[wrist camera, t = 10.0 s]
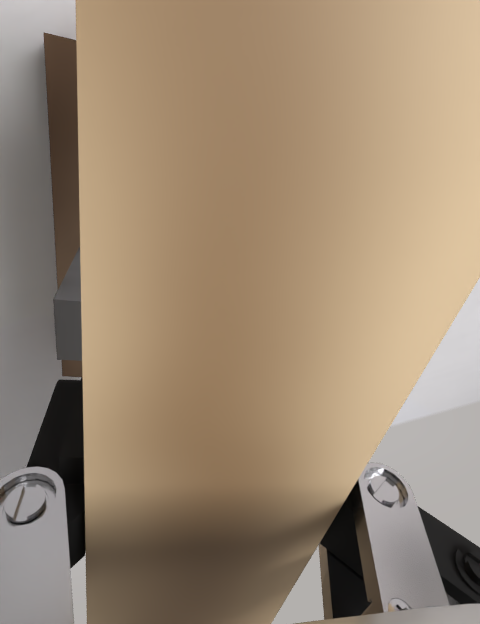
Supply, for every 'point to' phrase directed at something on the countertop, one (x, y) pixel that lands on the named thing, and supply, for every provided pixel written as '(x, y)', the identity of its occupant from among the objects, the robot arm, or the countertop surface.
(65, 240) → the walnut stand
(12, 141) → the countertop surface
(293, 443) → the oak beam
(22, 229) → the countertop surface
